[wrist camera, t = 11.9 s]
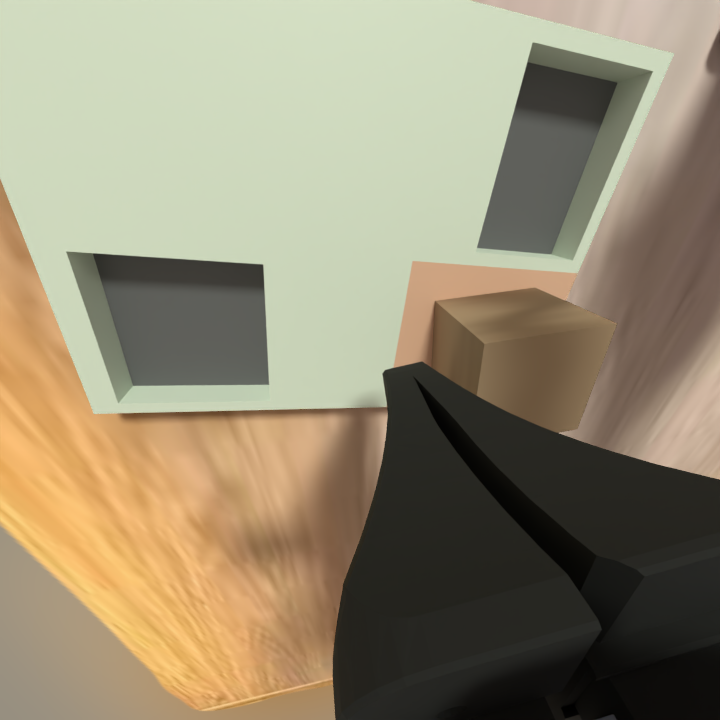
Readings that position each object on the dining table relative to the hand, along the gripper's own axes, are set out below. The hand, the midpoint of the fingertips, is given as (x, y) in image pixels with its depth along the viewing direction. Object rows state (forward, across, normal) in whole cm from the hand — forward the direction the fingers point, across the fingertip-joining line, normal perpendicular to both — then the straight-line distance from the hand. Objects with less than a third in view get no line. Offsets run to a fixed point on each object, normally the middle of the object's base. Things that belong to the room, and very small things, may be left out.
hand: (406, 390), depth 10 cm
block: (+4, -4, +1) cm, 6 cm away
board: (+5, +1, -4) cm, 6 cm away
